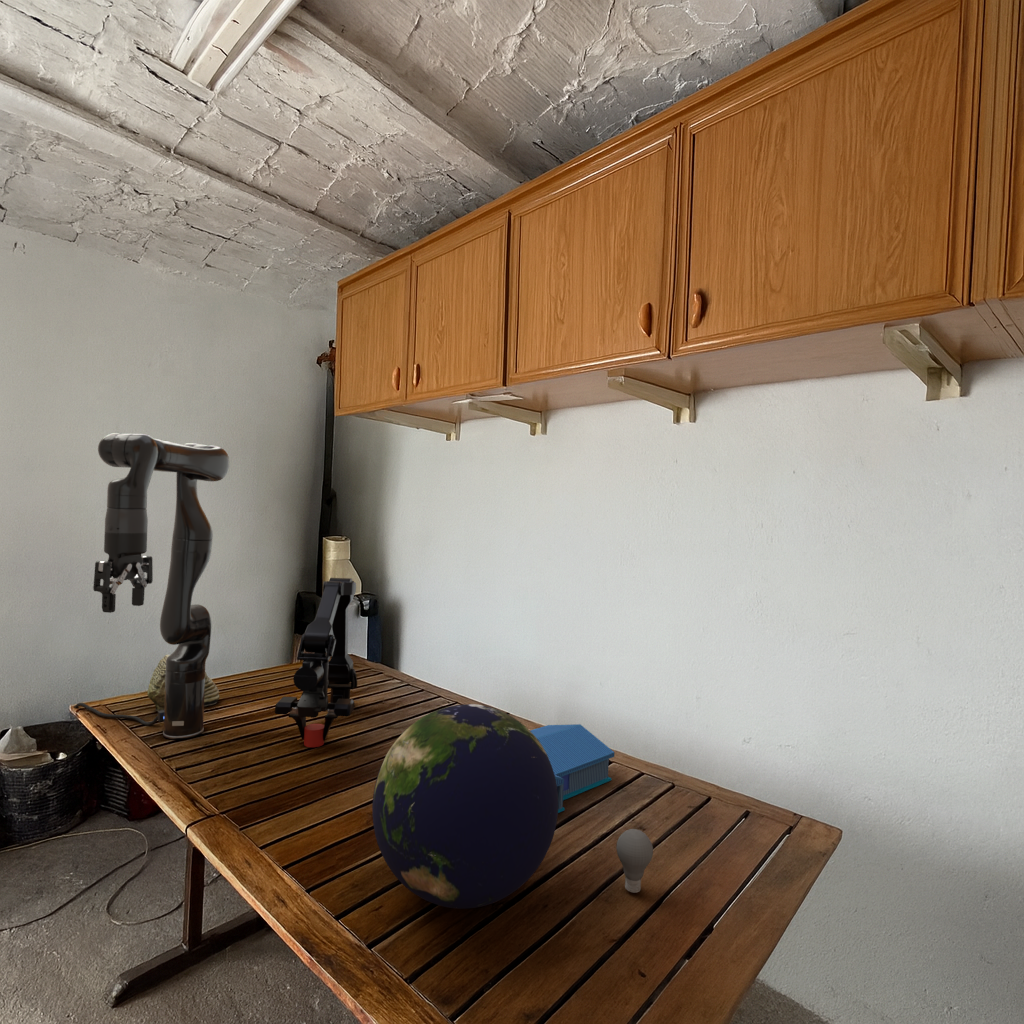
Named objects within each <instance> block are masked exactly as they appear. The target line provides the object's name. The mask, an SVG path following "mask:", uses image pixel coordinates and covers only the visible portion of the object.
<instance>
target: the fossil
mask: <svg viewBox="0 0 1024 1024" xmlns="http://www.w3.org/2000/svg"><path fill="white" fill-rule="evenodd" d="M170 655H171V654H165V655H164V656H163V657H162V658H161V659H160V660H159V662H158V663H157V666H156V667H155V669H154V670H153V672H152V675H151V677H150V680H149V684H148V688H147V697H148V699H149V700H150V701H152V703H153V704H154V706H155V711H160V710H164V705H165V674H166V660H167V658H168V657H169V656H170ZM220 698H221V696H220V690H219V688H218V686H217V685H216V683H215V682H214V681H213V679H212V678H211V677H209V675H208V674H207V672H206V671H205V693H204V707H207V706H213V705H215V704H217V703H218V701H219V699H220Z"/></svg>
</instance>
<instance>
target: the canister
mask: <svg viewBox="0 0 1024 1024" xmlns="http://www.w3.org/2000/svg"><path fill="white" fill-rule="evenodd" d="M324 726H325V724H323V723H309V724H306V726H305V728H304V740H303V746H304V747H306V748H319V747H321V746H323V745H324V744H325V741H323V733H324Z"/></svg>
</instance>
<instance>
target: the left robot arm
mask: <svg viewBox="0 0 1024 1024" xmlns="http://www.w3.org/2000/svg"><path fill="white" fill-rule="evenodd" d="M97 453H98V456H99V458H100V459H101V460H102V461H103V462H104V463H105V464H106V465H108V466H109V467H113V468H130V469H129V471H128V473H127V475H126V476H125V477H123V478H116V479H112V480H110V481H109V482H108V484H107V491H106V492H107V493H106V494H107V495H106V512H105V516H104V517H105V518H104V539H103V540H104V542H103V552H104V553H105V554H107V555H108V559H107V561H106V560H97V561H95V563H94V573H93V575H94V576H93V587H92V589H93V592H98V593H100V594H101V609H102V612H103V613H109V614H111V613H114V612H115V611H116V602H117V601H116V598H117V596H116V595H117V594H116V592H117V590H118V588H119V586H121V585H122V584H123V583H124V581H130V584H131V585H132V589H131V605H132V606H134V607H135V606H136V607H140V606H144V603H145V590H146V589H145V588H147V586H148V585H151V584H152V583H153V581H154V580H153V577H154V576H153V575H154V574H153V567H154V566H153V557H152V556H150V555H143V554H145V553H146V552H147V549H148V520H149V519H148V512H147V511H148V507H147V506H148V503H147V502H148V489H149V486H150V482H151V479H152V477H153V473H154V472H162V473H175V474H176V475H175V476H176V477H175V478H176V481H175V482H176V484H175V485H176V487H175V489H176V490H175V491H176V492H175V493H176V494H175V495H176V498H175V512H174V513H175V514H174V523H173V530H172V539H171V546H170V547H171V548H170V560H169V561H170V562H169V569H168V577H167V585H166V590H165V595H164V600H163V604H162V609H161V614H160V618H159V631H160V635H161V637H162V639H163V641H164V642H165V643H167V644H168V645H172V646H176V645H177V646H176V647H175V650H173V652H172V653H170V654H169V655H170V656H169V657H168V658H167V660H166V674H165V705H164V710H160V711H159V710H157V715H156V716H155V717H154V718H153V719H152V721H145V720H143V719H142V718H140V717H138V716H135V715H128V714H111V713H105V712H102V711H100V710H98V709H96V708H94V707H91V706H89V705H88V704H86V703H84V702H78V703H76V704H75V705H74V706H73V708H74V709H78V708H79V707H82V708H84V709H86V710H87V711H89V712H92V713H94V714H95V715H97V716H99V717H101V718H108V719H124V720H125V719H126V720H133V721H136V722H137V723H139V724H142V725H144V726H147V727H149V726H152V725H155V724H156V723H157V722H159V723H161V722H163V731H162V737H164V738H166V739H169V740H185V739H190V738H191V739H192V738H194V737H197V736H199V735H202V734H203V732H204V730H205V729H204V722H205V721H204V718H205V706H204V693H205V672H206V664H207V663H206V662H207V659H208V657H209V654H210V649H211V648H210V647H211V639H212V617H211V614H210V612H209V610H208V609H207V608H206V607H205V606H204V605H201V604H196V603H195V604H194V603H193V604H192V601H193V596H194V591H195V588H196V586H197V584H198V582H199V580H200V578H201V577H202V575H203V573H204V572H205V570H206V568H207V566H208V564H209V561H210V559H211V556H212V549H213V548H212V547H213V537H214V533H213V528H212V525H211V523H210V521H209V519H208V517H207V516H206V513H205V511H204V510H203V508H202V505H201V503H200V500H199V497H198V481H202V482H219V481H222V480H223V479H224V478H225V477H226V476H227V474H228V472H229V469H230V457H229V454H228V453H227V451H226V450H225V449H224V448H223V447H220V446H217V445H211V444H204V443H195V442H186V443H184V444H181V443H178V442H177V443H176V442H174V441H168V440H163V439H159V438H153V437H152V436H151V435H148V434H145V433H127V432H111V433H109V434H106V435H104V437H102V438H101V439H100V441H99V443H98V445H97ZM101 580H102V585H101ZM110 585H111V586H110Z"/></svg>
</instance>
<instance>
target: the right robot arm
mask: <svg viewBox="0 0 1024 1024" xmlns="http://www.w3.org/2000/svg"><path fill="white" fill-rule="evenodd" d="M322 582H323V583H322V595H321V598H320V601H319V605H318V608H317V611H316V615H315V618H314V619H313V621H312V622H310V623H309V624H307V626H306V629H305V631H304V633H303V634H302V636H301V638H300V641H299V647H298V652H297V657H296V660H297V661H302V664H301V666H300V667H299V668H298V669H297V670H296V671H295V673H294V675H293V677H292V678H293V679H292V681H293V684H294V686H295V688H296V689H298V690H300V691H302V693H301V696H300V698H299V700H298V697H296V696H283V697H282V698H280V699H279V700H278V701H277V702H276V703H275V706H274V714H275V715H288V716H287V717H288V718H290V719H293V720H294V722H295V723H296V726H297V728H298V731H299V734H300V737H301V740H302V741H304V728H305V726H306V725H307V718H311V719H315V718H317V717H318V716H319V713H322V712H327V714H326V715H325V716H324V733H323V741H324V742H325V741H326V739H327V738H328V735H329V732H330V729H331V727H332V725H333V722H334V720H337V719H338V717H350V716H351V715H352V713H353V712H354V710H355V701H354V699H352V698H351V690H354V689H357V688H358V676H357V673H356V669H355V668H354V660H353V659H352V658H351V656H350V655H349V650H348V649H349V606H350V604H352V603H351V602H352V601H353V600H354V599H355V595H356V592H357V583H356V582H355V581H354V580H353V577H352V578H349V577H329V580H325V581H322ZM329 689H330V695H328V690H329ZM329 697H330V700H329Z"/></svg>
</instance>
